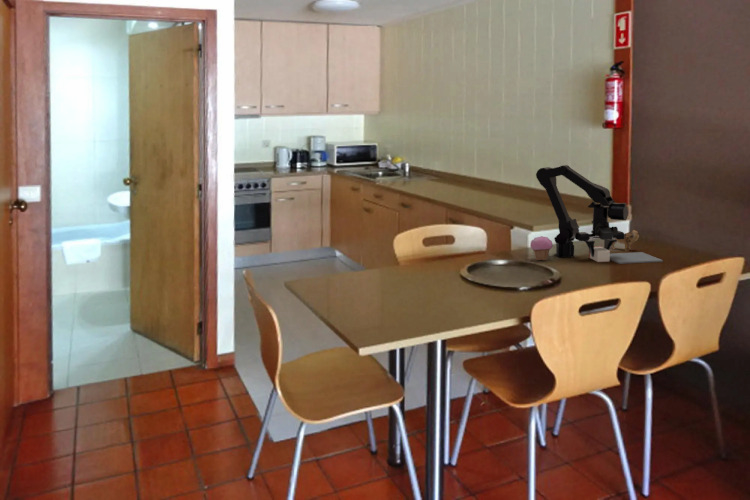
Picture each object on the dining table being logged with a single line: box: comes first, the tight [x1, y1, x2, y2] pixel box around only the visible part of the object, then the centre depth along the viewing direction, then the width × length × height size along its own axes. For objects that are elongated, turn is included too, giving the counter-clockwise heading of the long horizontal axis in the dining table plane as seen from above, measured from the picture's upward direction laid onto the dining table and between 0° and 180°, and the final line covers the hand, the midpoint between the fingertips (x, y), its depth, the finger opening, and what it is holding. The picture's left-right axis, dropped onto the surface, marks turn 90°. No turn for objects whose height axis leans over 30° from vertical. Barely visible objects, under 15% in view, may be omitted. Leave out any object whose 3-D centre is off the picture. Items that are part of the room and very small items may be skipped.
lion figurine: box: [610, 229, 640, 252], centre depth 294 cm, size 15×5×9 cm, turn 45°
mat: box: [610, 251, 664, 265], centre depth 274 cm, size 18×18×1 cm
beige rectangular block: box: [588, 245, 611, 263], centre depth 274 cm, size 5×9×5 cm, turn 4°
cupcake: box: [529, 235, 553, 261], centre depth 276 cm, size 9×9×10 cm
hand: (599, 256), depth 274 cm, fingers closed on beige rectangular block, 5 cm apart
